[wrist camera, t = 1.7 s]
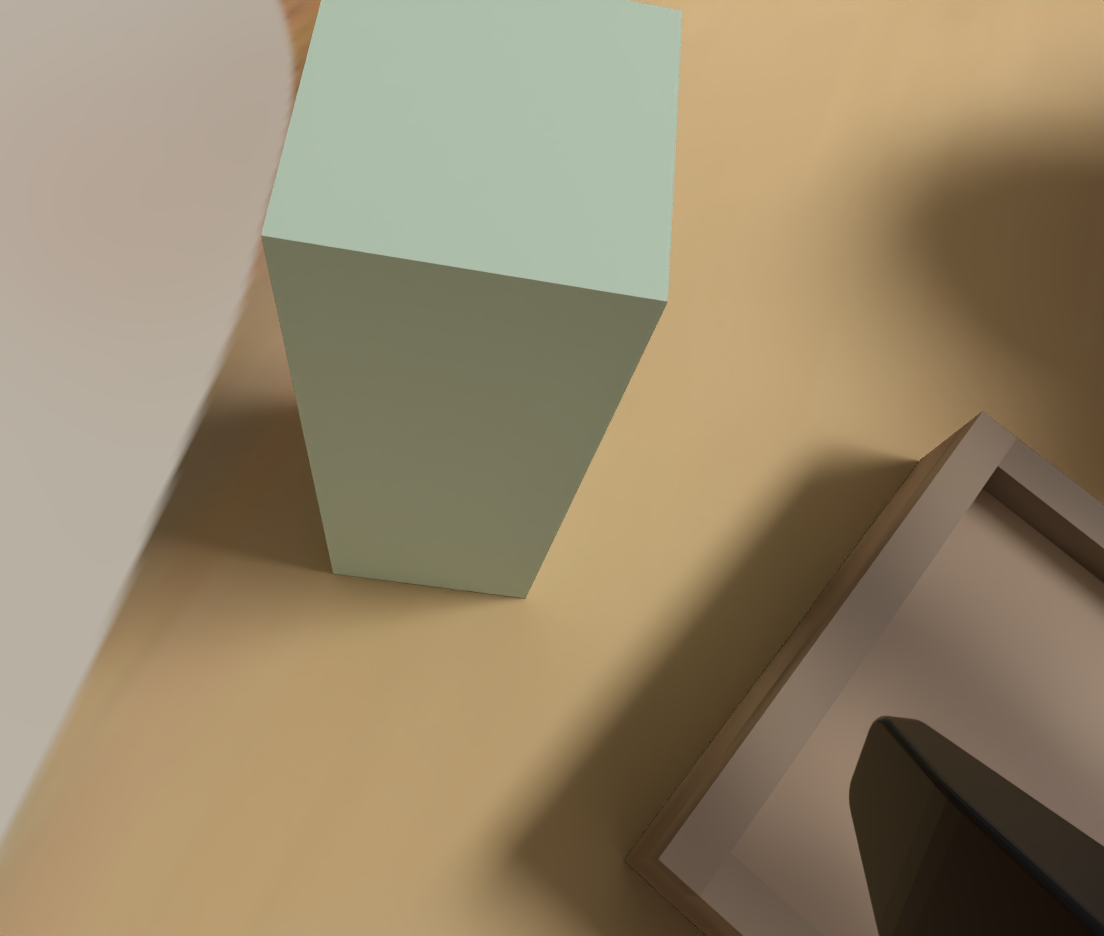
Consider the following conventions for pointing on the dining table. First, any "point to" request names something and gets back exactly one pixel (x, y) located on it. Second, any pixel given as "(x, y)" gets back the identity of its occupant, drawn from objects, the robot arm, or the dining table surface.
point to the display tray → (903, 690)
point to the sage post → (469, 268)
